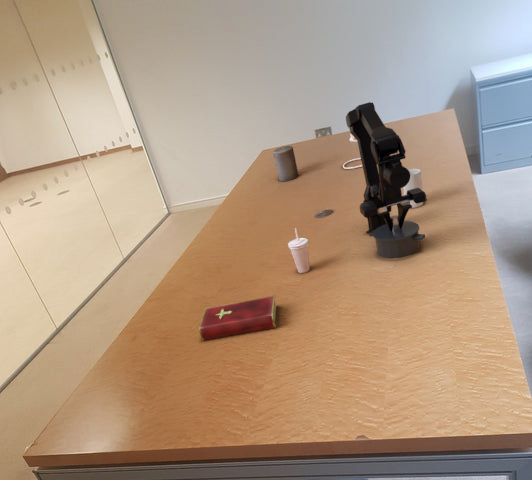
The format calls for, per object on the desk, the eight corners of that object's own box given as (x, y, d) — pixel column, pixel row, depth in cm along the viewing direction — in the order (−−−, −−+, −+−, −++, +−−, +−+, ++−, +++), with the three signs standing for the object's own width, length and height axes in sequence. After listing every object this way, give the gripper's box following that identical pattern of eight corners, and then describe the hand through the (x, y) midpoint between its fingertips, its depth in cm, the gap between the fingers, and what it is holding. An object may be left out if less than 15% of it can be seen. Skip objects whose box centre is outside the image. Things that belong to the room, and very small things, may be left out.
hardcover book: (276, 328, 152) (272, 315, 150) (202, 341, 156) (197, 328, 154) (278, 307, 162) (274, 294, 160) (208, 319, 166) (204, 307, 164)
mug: (423, 207, 199) (420, 173, 193) (403, 209, 202) (400, 176, 195) (425, 197, 206) (423, 164, 200) (407, 199, 209) (403, 167, 203)
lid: (410, 243, 163) (409, 226, 160) (366, 243, 170) (364, 227, 167) (425, 223, 172) (424, 207, 169) (382, 224, 179) (380, 208, 177)
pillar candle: (302, 173, 270) (296, 142, 263) (292, 181, 264) (285, 148, 256) (285, 174, 276) (278, 143, 268) (275, 182, 270) (268, 150, 262)
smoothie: (316, 264, 180) (307, 223, 173) (310, 274, 175) (302, 232, 168) (297, 266, 182) (288, 225, 175) (291, 275, 178) (282, 234, 170)
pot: (414, 263, 165) (412, 242, 161) (362, 257, 177) (359, 238, 173) (434, 244, 172) (433, 225, 168) (384, 240, 183) (381, 221, 180)
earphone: (388, 153, 251) (353, 133, 248) (367, 185, 260) (334, 166, 258) (387, 145, 262) (354, 126, 259) (368, 176, 271) (336, 158, 269)
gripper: (411, 164, 169) (416, 213, 177) (351, 180, 169) (359, 229, 177) (424, 172, 159) (429, 224, 168) (361, 190, 160) (368, 241, 168)
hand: (395, 229), depth 170 cm, fingers closed on lid, 3 cm apart
